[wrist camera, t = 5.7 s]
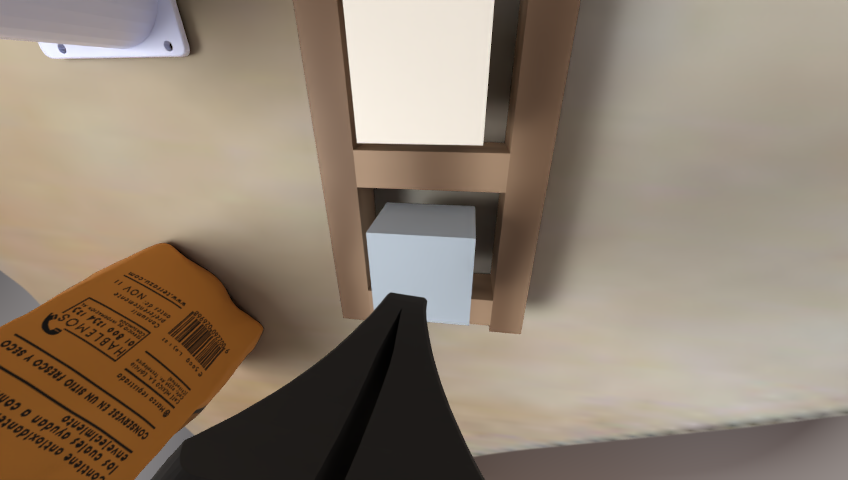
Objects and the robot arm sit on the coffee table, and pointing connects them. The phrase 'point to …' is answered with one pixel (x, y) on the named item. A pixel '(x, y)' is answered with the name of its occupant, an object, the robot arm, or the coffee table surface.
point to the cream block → (419, 69)
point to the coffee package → (116, 367)
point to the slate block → (425, 257)
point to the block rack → (441, 157)
